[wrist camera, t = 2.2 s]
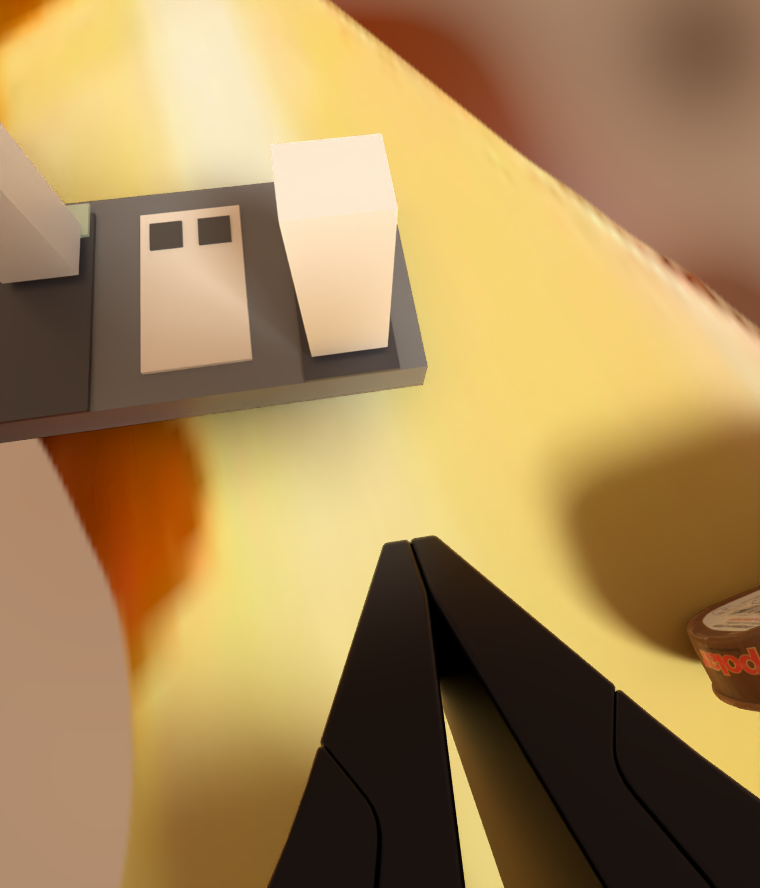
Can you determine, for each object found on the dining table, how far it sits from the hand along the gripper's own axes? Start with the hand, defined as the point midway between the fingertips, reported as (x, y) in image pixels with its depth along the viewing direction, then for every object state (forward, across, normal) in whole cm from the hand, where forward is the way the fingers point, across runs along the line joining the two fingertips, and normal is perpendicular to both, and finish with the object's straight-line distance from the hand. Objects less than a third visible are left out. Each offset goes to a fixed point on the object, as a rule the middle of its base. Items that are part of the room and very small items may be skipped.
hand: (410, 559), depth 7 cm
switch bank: (+20, +7, -1) cm, 21 cm away
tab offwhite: (+16, 0, 0) cm, 16 cm away
